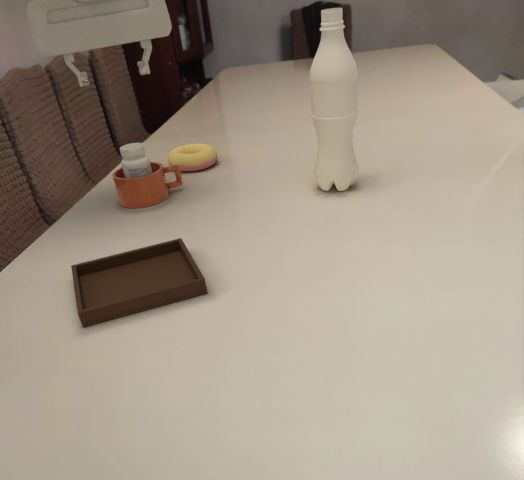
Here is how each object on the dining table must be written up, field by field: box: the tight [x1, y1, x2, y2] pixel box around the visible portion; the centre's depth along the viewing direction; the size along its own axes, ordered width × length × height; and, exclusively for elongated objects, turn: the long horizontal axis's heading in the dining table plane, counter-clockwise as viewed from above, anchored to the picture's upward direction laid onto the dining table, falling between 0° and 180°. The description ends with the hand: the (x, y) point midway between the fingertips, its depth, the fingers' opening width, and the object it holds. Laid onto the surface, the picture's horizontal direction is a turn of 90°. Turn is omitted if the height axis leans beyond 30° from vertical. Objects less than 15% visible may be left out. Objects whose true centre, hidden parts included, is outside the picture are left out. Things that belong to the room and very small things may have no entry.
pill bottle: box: [119, 142, 152, 179], centre depth 91 cm, size 5×5×8 cm
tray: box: [71, 237, 208, 328], centre depth 68 cm, size 15×13×2 cm
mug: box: [111, 161, 184, 209], centre depth 93 cm, size 12×9×5 cm
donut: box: [167, 143, 218, 172], centre depth 105 cm, size 10×5×9 cm
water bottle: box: [308, 7, 359, 192], centre depth 81 cm, size 7×7×25 cm
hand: (115, 79), depth 82 cm, fingers open, 8 cm apart
